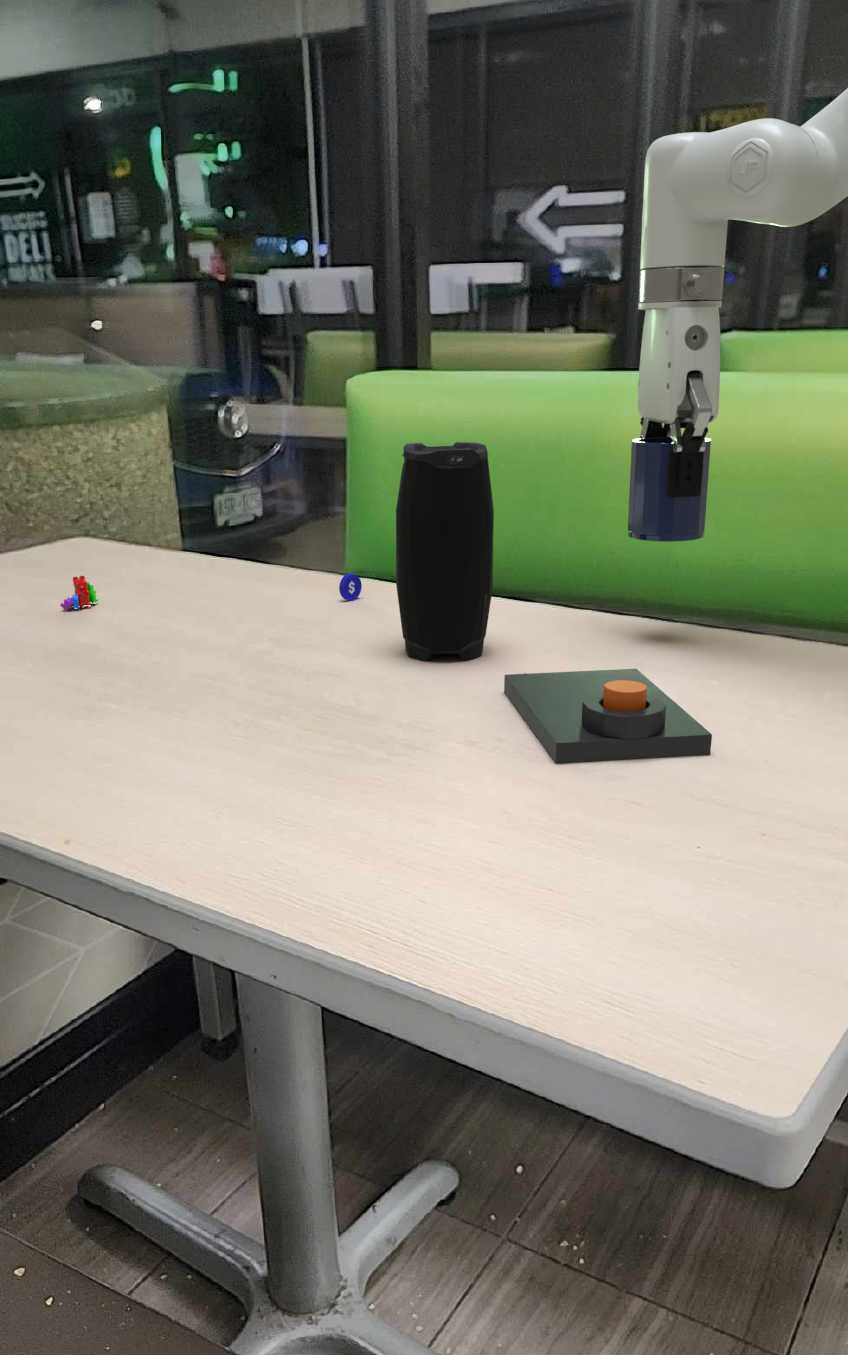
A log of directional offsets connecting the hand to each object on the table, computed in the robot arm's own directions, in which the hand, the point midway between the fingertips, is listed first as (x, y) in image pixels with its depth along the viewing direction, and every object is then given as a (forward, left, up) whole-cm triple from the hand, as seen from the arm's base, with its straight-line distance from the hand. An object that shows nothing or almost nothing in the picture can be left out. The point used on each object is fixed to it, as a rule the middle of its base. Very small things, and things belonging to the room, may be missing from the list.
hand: (668, 490), depth 112 cm
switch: (+13, +31, -12) cm, 35 cm away
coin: (+29, -23, -15) cm, 40 cm away
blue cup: (0, 0, -4) cm, 4 cm away
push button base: (+13, +25, -15) cm, 32 cm away
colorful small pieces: (+60, -24, -15) cm, 67 cm away
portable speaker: (+22, +2, -15) cm, 27 cm away
